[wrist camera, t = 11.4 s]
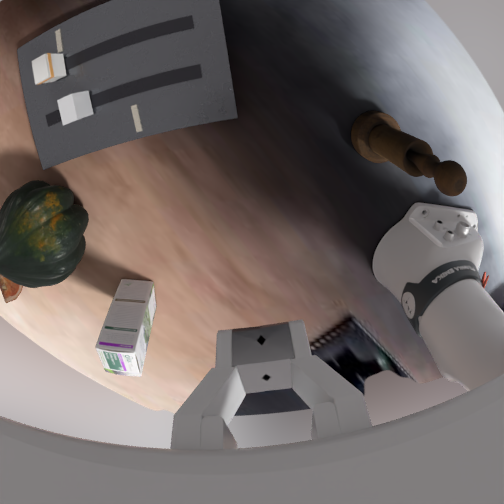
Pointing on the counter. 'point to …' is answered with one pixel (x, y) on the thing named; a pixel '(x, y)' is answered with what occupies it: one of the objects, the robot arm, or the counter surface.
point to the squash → (41, 235)
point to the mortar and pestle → (404, 151)
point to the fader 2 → (75, 107)
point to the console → (129, 74)
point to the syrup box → (127, 328)
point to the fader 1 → (48, 68)
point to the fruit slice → (9, 289)
